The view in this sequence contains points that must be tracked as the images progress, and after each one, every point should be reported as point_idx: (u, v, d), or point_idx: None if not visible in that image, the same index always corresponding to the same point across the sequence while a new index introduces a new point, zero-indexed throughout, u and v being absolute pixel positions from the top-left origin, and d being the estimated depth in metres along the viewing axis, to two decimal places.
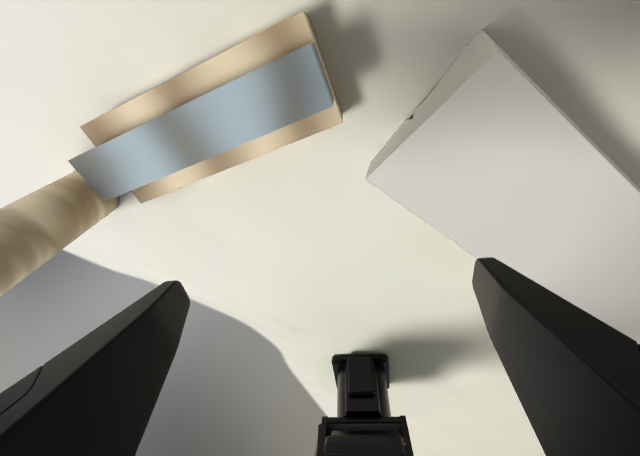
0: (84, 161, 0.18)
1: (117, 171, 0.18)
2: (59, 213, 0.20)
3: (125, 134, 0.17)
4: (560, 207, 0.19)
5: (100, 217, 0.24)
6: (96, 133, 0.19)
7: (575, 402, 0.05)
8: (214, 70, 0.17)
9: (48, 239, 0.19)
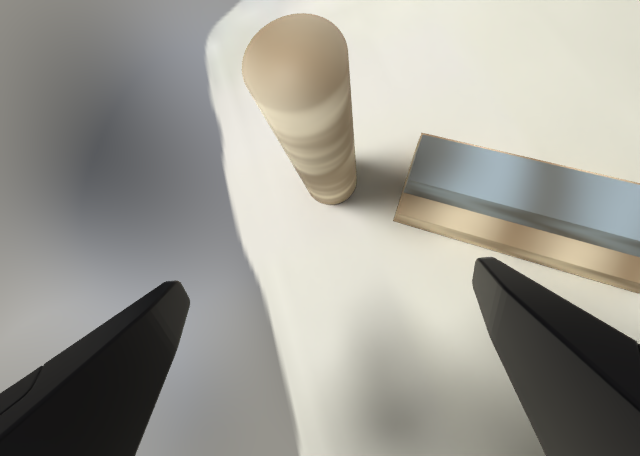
0: (436, 144, 0.18)
1: (456, 169, 0.17)
2: (354, 157, 0.18)
3: (500, 153, 0.17)
4: None
5: (335, 195, 0.21)
6: None
7: (575, 402, 0.05)
8: None
9: (345, 159, 0.16)
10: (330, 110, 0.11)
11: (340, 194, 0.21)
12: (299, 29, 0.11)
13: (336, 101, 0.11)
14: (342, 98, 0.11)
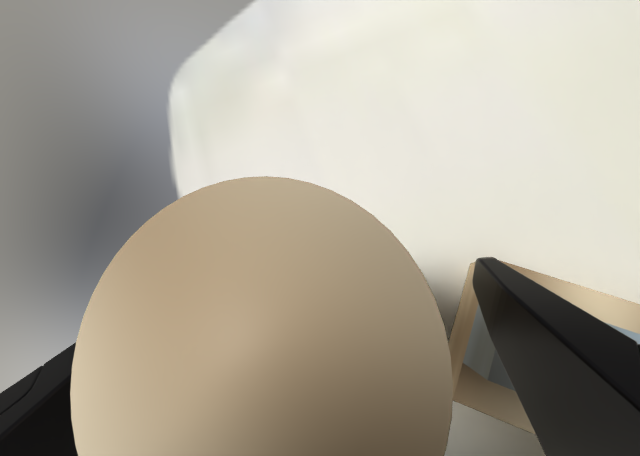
0: None
1: None
2: None
3: None
4: None
5: None
6: None
7: (575, 402, 0.05)
8: None
9: None
10: None
11: None
12: (271, 237, 0.03)
13: None
14: None
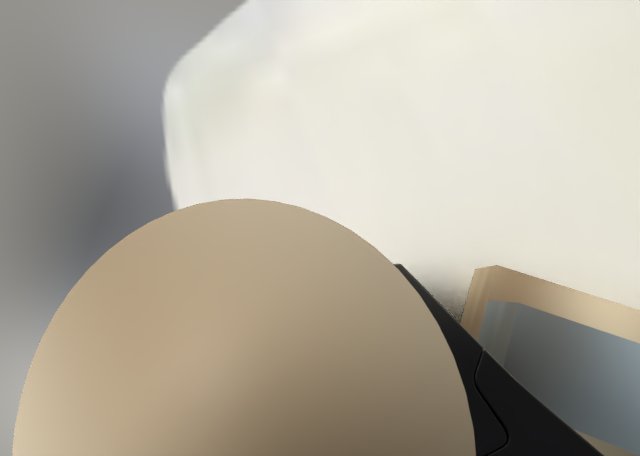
0: (548, 327, 0.09)
1: (592, 387, 0.09)
2: None
3: None
4: None
5: None
6: (511, 289, 0.12)
7: None
8: None
9: None
10: None
11: None
12: (253, 274, 0.03)
13: None
14: None
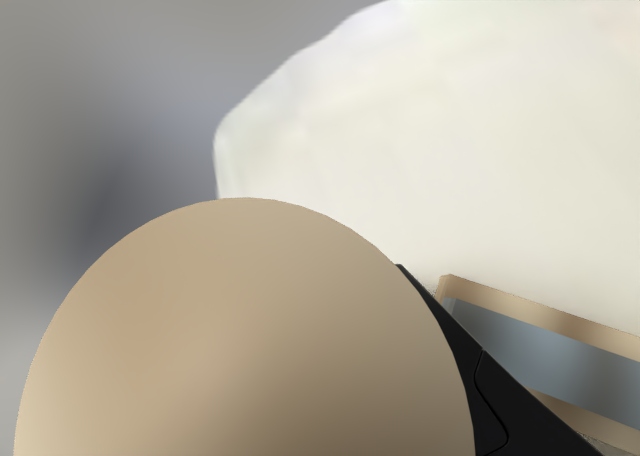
0: (472, 312, 0.16)
1: (495, 346, 0.15)
2: None
3: (545, 330, 0.15)
4: None
5: None
6: (459, 289, 0.18)
7: None
8: (632, 345, 0.17)
9: None
10: None
11: None
12: (253, 272, 0.03)
13: None
14: None
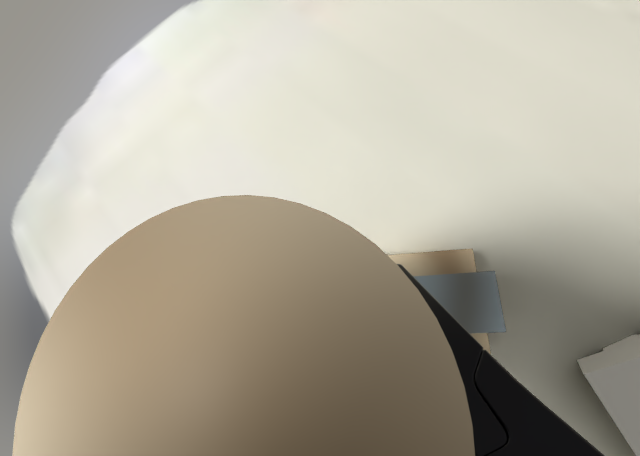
0: None
1: None
2: None
3: None
4: None
5: None
6: None
7: None
8: None
9: None
10: None
11: None
12: (252, 270, 0.03)
13: None
14: None
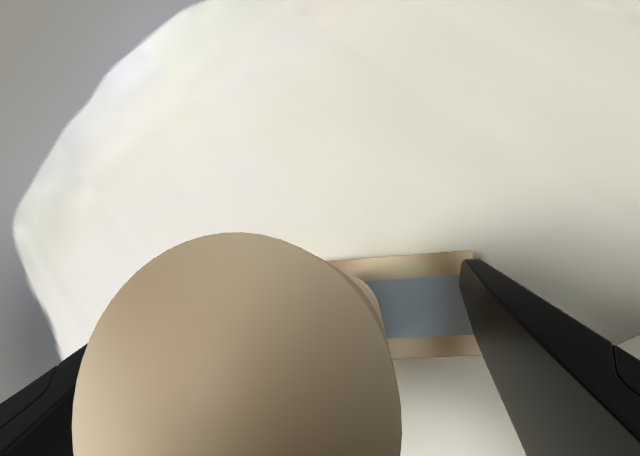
0: None
1: None
2: None
3: None
4: None
5: None
6: None
7: (551, 402, 0.05)
8: (375, 266, 0.19)
9: None
10: None
11: None
12: (244, 290, 0.04)
13: None
14: None
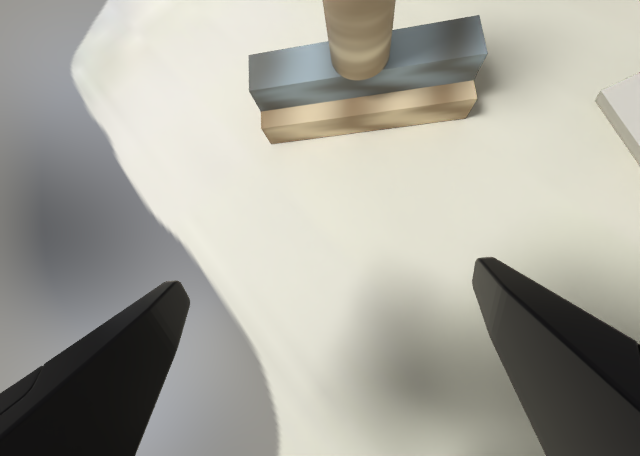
0: (261, 57, 0.21)
1: (281, 69, 0.21)
2: None
3: (309, 45, 0.21)
4: None
5: (367, 54, 0.18)
6: None
7: (575, 402, 0.05)
8: None
9: None
10: None
11: (373, 54, 0.18)
12: None
13: None
14: None
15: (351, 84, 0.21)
